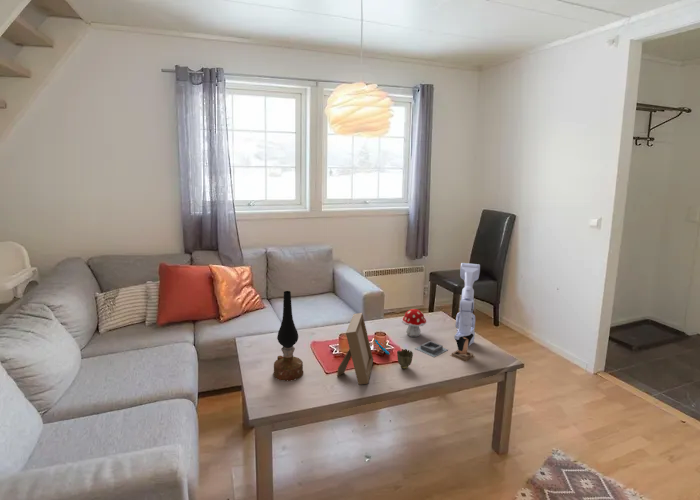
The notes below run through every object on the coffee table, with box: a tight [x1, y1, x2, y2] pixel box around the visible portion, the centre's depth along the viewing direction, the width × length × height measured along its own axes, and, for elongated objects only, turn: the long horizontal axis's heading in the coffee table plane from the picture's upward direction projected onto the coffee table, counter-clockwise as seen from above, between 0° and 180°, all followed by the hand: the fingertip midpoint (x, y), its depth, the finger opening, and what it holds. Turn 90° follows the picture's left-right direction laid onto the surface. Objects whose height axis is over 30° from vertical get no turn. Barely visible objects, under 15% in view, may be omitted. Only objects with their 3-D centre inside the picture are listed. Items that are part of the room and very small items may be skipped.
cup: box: [396, 348, 414, 370], centre depth 198 cm, size 8×7×8 cm
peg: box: [457, 337, 469, 354], centre depth 209 cm, size 4×4×7 cm
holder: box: [449, 349, 476, 363], centre depth 210 cm, size 9×9×2 cm
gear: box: [374, 339, 390, 356], centre depth 213 cm, size 11×6×10 cm
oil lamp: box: [272, 290, 304, 382], centre depth 187 cm, size 14×15×40 cm
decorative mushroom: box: [401, 308, 427, 338], centre depth 235 cm, size 14×14×15 cm
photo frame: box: [336, 312, 374, 385], centre depth 192 cm, size 15×22×25 cm
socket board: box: [414, 340, 449, 358], centre depth 216 cm, size 12×12×3 cm
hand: (463, 348), depth 209 cm, fingers closed on peg, 4 cm apart
